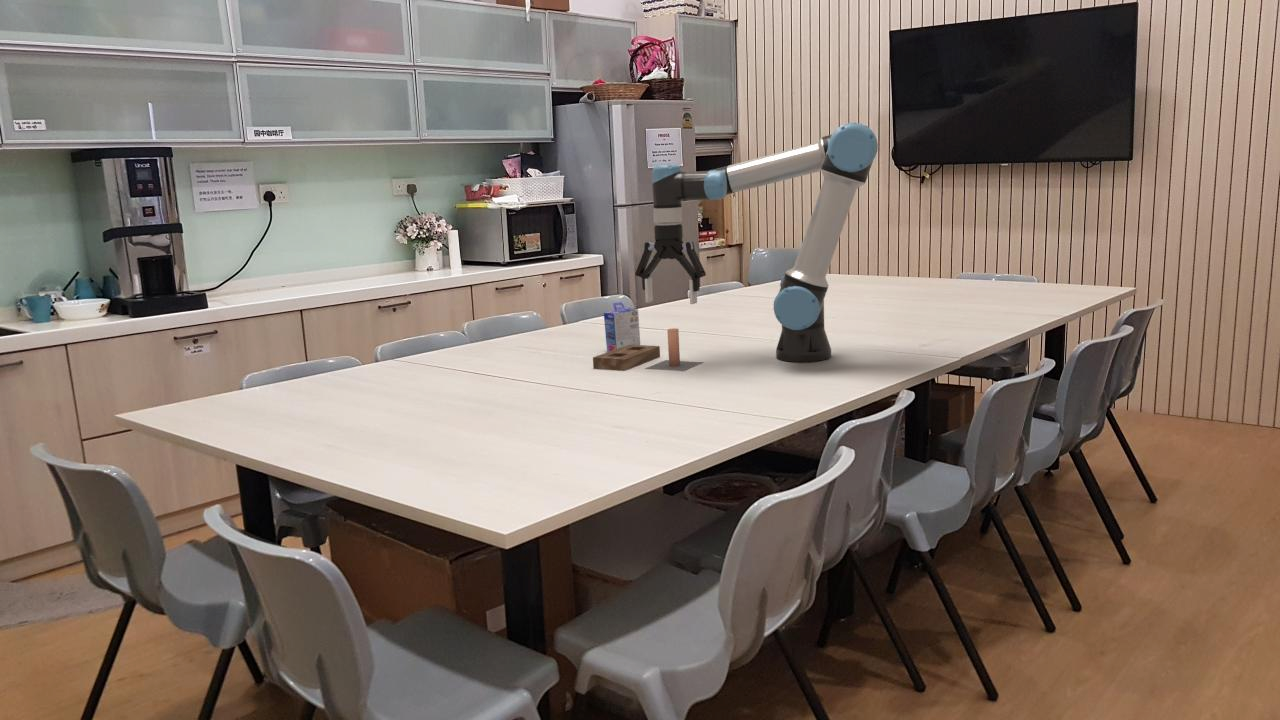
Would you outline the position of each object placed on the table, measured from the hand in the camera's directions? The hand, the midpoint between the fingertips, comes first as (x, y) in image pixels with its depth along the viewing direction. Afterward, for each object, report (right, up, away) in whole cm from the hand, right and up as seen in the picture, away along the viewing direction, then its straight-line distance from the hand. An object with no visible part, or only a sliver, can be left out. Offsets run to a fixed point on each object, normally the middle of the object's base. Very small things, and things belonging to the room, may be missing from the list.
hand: (671, 302), depth 269 cm
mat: (+1, -17, +3) cm, 18 cm away
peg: (+1, -17, +3) cm, 17 cm away
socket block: (-12, -17, +11) cm, 23 cm away
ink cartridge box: (-13, -13, +32) cm, 37 cm away
